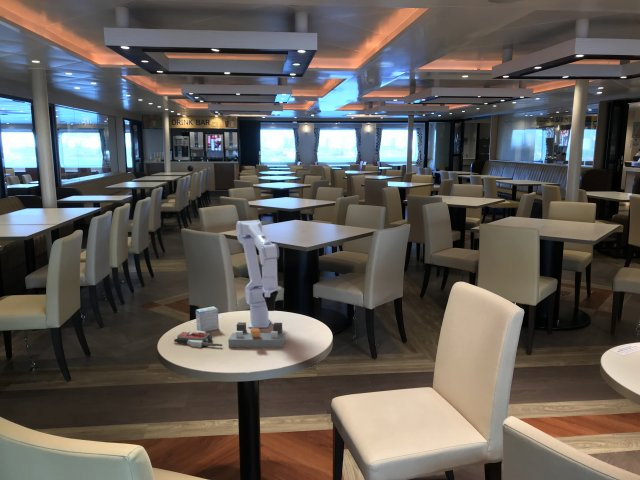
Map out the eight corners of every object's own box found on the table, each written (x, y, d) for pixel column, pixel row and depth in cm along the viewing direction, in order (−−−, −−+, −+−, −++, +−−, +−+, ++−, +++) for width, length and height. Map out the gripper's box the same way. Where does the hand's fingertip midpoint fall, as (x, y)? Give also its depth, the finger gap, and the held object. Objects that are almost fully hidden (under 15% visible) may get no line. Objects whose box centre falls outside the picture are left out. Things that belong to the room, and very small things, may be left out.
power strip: (232, 340, 198) (232, 327, 197) (285, 340, 196) (284, 328, 196) (228, 347, 191) (228, 334, 190) (282, 347, 189) (282, 334, 189)
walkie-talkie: (171, 346, 194) (221, 350, 189) (170, 334, 193) (220, 338, 189) (182, 338, 202) (230, 341, 198) (181, 327, 201) (230, 330, 197)
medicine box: (215, 326, 214) (214, 306, 213) (219, 329, 211) (218, 308, 209) (196, 330, 210) (195, 309, 208) (200, 333, 206) (199, 312, 205)
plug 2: (277, 331, 206) (276, 317, 205) (284, 331, 206) (284, 317, 205) (273, 340, 197) (273, 325, 196) (281, 340, 197) (281, 325, 196)
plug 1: (242, 331, 207) (241, 317, 206) (249, 331, 207) (249, 317, 206) (237, 340, 198) (236, 324, 197) (244, 340, 198) (244, 325, 197)
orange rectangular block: (252, 334, 193) (250, 328, 189) (260, 334, 192) (258, 328, 189) (252, 337, 192) (250, 331, 188) (260, 337, 192) (258, 331, 188)
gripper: (277, 280, 190) (278, 316, 192) (282, 271, 204) (283, 305, 207) (258, 280, 191) (259, 316, 193) (264, 271, 205) (266, 305, 207)
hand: (270, 310), depth 200 cm, fingers closed
